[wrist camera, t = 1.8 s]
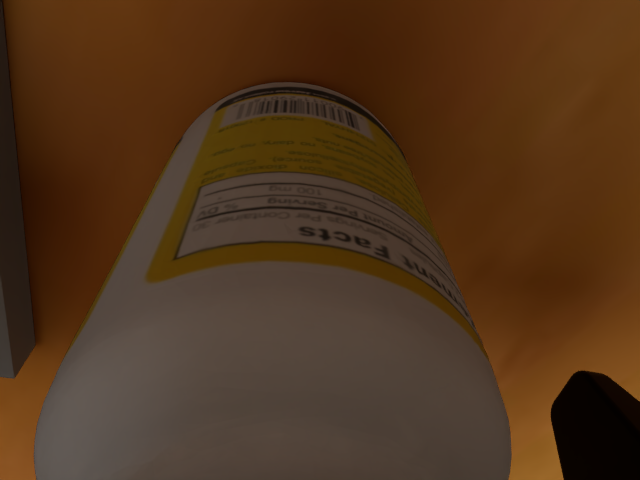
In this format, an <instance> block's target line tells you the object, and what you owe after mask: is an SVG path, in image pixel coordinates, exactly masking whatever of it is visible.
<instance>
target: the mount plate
mask: <svg viewBox="0 0 640 480" xmlns="http://www.w3.org/2000/svg"><path fill="white" fill-rule="evenodd" d="M34 347H35V335H34V325H33V315H32V304H31V294H30V284H29V274H28V263H27V253H26V243H25V232H24V222H23V212H22V202H21V191H20V181H19V171H18V161H17V150H16V140H15V130H14V119H13V109H12V99H11V89H10V78H9V68H8V58H7V48H6V37H5V27H4V17H3V6H2V0H0V377H6V378H15V377H16V375H17V374H18V372H19V370H20V369H21V367H22V366H23V364H24V362H25V361H26V359H27V358H28V356H29V355H30V353H31V351H32V350H33V348H34Z"/></svg>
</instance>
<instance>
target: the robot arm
mask: <svg viewBox="0 0 640 480" xmlns="http://www.w3.org/2000/svg"><path fill="white" fill-rule="evenodd" d="M551 422H552V426H553V431H554V436H555V441H556V445H557V450H558V455H559V459H560V464H561V469H562V473H563V478H564V480H640V402H639V401H638V400H637V399H636V398H634V397H633V396H632V395H631V394H629V393H628V392H627V391H626V390H624V389H623V388H622V387H621V386H619V385H618V384H617V383H616V382H614V381H613V380H612V379H611V378H609V377H608V376H606V375H604V374H601V373H596V372H589V371H578V372H576V373H574V374H573V375H572V376H571V378H570V379H569V381H568V382H567V384H566V385H565V386H564V388H563V389H562V391H561V392H560V394H559V395H558V397H557V398H556V399H555V401H554V403H553V405H552V408H551Z"/></svg>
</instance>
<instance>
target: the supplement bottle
mask: <svg viewBox="0 0 640 480" xmlns="http://www.w3.org/2000/svg"><path fill="white" fill-rule="evenodd" d="M34 464H35V474H36V479H37V480H508V478H509V473H510V466H511V437H510V427H509V421H508V417H507V413H506V409H505V406H504V403H503V400H502V397H501V394H500V391H499V388H498V385H497V381H496V378H495V375H494V372H493V369H492V367H491V364H490V361H489V358H488V356H487V353H486V351H485V349H484V347H483V344H482V341H481V339H480V337H479V335H478V333H477V330H476V328H475V326H474V323H473V321H472V318H471V316H470V313H469V311H468V309H467V307H466V304H465V301H464V298H463V296H462V294H461V291H460V289H459V287H458V285H457V282H456V280H455V277H454V274H453V272H452V270H451V267H450V265H449V263H448V260H447V258H446V255H445V253H444V250H443V248H442V246H441V244H440V241H439V239H438V236H437V234H436V231H435V229H434V226H433V224H432V221H431V219H430V217H429V214H428V212H427V210H426V207H425V205H424V202H423V200H422V197H421V195H420V193H419V190H418V188H417V185H416V183H415V181H414V178H413V176H412V173H411V171H410V169H409V167H408V164H407V162H406V159H405V157H404V154H403V153H402V151H401V149H400V148H399V146H398V144H397V143H396V141H395V140H394V138H393V137H392V135H391V134H390V133H389V131H388V130H387V129H386V128H385V127H384V125H383V124H382V123H381V122H380V121H379V120H378V119H377V118H376V117H375V116H374V115H373V114H372V113H371V112H370V111H368V110H367V109H366V108H365V107H363V106H362V105H360V104H359V103H357V102H356V101H354V100H352V99H351V98H349V97H347V96H345V95H342V94H340V93H338V92H335V91H333V90H330V89H327V88H324V87H321V86H317V85H311V84H305V83H295V82H275V83H268V84H261V85H256V86H252V87H249V88H246V89H243V90H240V91H238V92H235V93H233V94H231V95H229V96H227V97H225V98H223V99H221V100H220V101H218V102H217V103H215V104H214V105H212V106H211V107H209V108H208V109H207V110H206V111H204V112H203V113H202V114H201V115H200V116H199V117H198V118H197V119H196V120H195V121H194V122H193V123H192V124H191V126H190V127H189V128H188V129H187V131H186V132H185V134H184V135H183V136H182V138H181V139H180V141H179V142H178V144H177V145H176V147H175V148H174V150H173V152H172V154H171V156H170V158H169V160H168V162H167V163H166V165H165V167H164V169H163V171H162V173H161V174H160V176H159V178H158V180H157V182H156V184H155V186H154V188H153V190H152V192H151V194H150V195H149V197H148V199H147V201H146V203H145V205H144V207H143V209H142V211H141V213H140V215H139V216H138V218H137V220H136V222H135V224H134V225H133V227H132V229H131V231H130V233H129V235H128V237H127V239H126V241H125V243H124V245H123V247H122V249H121V251H120V253H119V255H118V257H117V258H116V260H115V262H114V264H113V266H112V268H111V270H110V271H109V273H108V275H107V277H106V279H105V281H104V283H103V285H102V286H101V288H100V290H99V292H98V294H97V296H96V298H95V300H94V302H93V304H92V306H91V307H90V309H89V311H88V313H87V315H86V317H85V319H84V320H83V322H82V324H81V326H80V328H79V330H78V331H77V333H76V335H75V337H74V339H73V341H72V343H71V345H70V347H69V349H68V351H67V353H66V355H65V357H64V359H63V361H62V363H61V365H60V367H59V369H58V371H57V373H56V376H55V378H54V380H53V383H52V385H51V387H50V389H49V392H48V394H47V396H46V398H45V400H44V403H43V406H42V410H41V413H40V417H39V420H38V423H37V428H36V435H35V445H34Z"/></svg>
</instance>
